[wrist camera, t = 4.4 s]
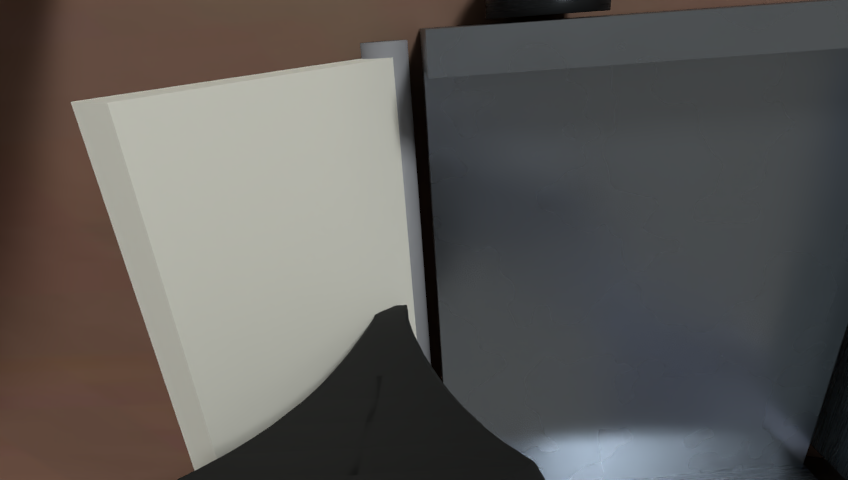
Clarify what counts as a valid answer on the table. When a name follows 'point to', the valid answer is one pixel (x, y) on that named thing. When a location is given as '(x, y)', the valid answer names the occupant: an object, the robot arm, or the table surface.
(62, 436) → the table surface
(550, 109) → the grey piece
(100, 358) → the table surface
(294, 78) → the panel
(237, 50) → the table surface
